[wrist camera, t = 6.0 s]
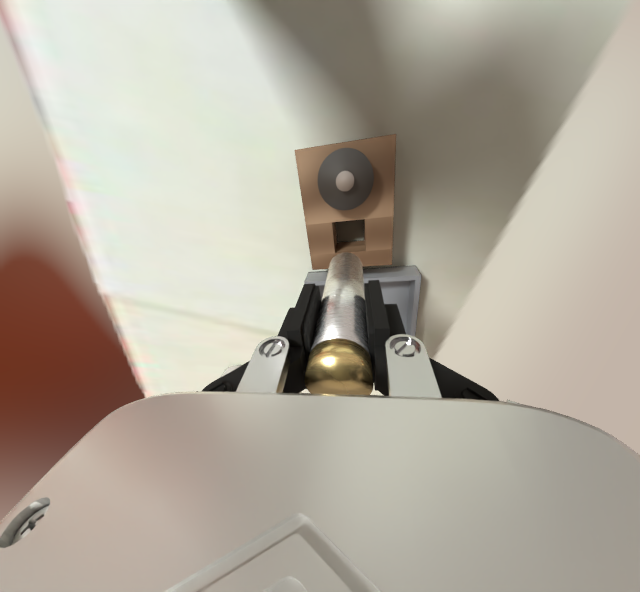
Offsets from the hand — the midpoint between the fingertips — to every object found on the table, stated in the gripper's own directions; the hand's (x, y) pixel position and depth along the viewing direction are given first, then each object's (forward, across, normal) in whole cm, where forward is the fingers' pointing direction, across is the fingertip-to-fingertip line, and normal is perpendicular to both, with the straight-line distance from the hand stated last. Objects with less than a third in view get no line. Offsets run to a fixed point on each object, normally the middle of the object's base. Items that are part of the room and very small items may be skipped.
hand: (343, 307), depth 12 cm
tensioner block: (+18, 0, -2) cm, 18 cm away
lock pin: (+5, 0, 0) cm, 5 cm away
